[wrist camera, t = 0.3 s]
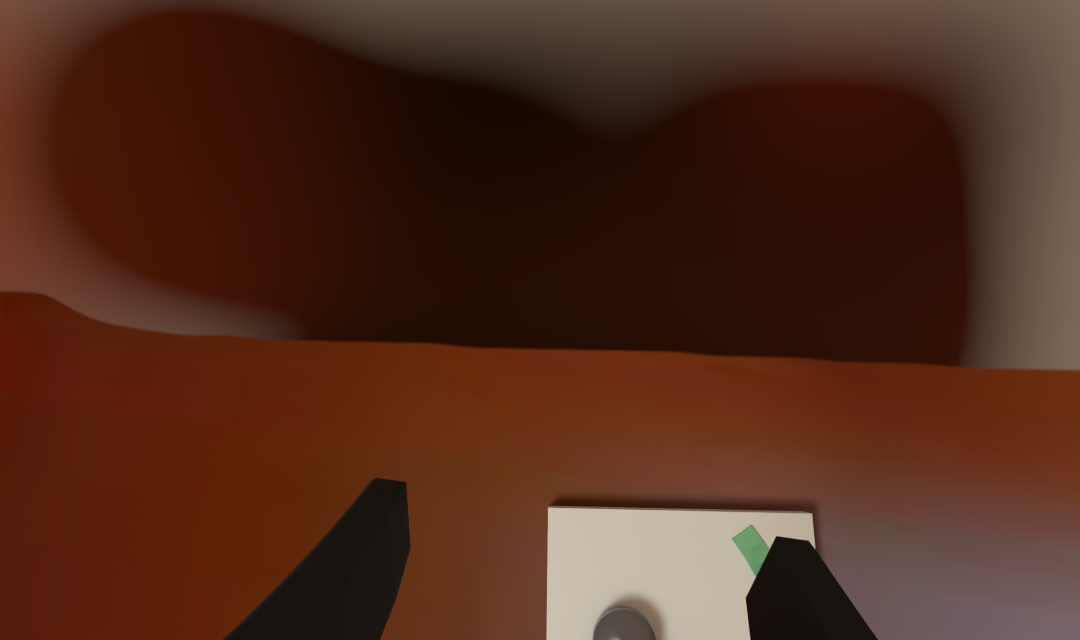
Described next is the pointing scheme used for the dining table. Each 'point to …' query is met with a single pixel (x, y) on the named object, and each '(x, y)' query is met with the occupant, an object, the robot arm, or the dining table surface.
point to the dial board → (660, 567)
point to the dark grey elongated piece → (623, 625)
